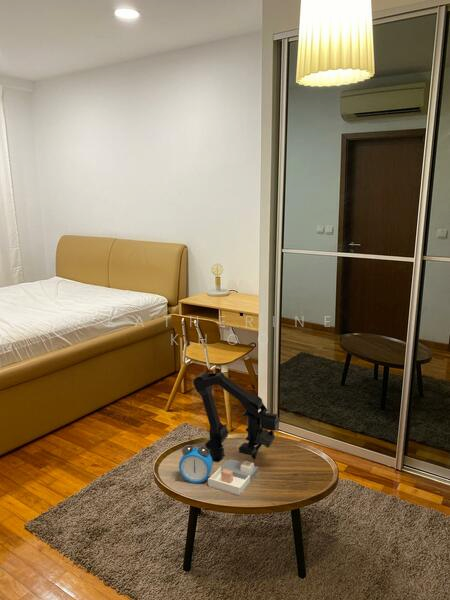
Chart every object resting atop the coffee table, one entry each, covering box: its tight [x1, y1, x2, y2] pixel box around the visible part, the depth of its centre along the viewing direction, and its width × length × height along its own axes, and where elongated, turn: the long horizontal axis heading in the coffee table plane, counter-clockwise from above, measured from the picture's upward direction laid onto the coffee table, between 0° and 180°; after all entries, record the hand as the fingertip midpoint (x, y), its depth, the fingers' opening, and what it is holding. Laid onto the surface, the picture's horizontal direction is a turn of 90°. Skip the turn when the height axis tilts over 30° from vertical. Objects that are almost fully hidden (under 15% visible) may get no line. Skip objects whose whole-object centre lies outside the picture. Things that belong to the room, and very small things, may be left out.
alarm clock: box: [178, 444, 214, 484], centre depth 189 cm, size 13×6×15 cm, turn 79°
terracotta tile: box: [221, 469, 233, 483], centre depth 188 cm, size 4×4×2 cm
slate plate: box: [220, 458, 259, 483], centre depth 194 cm, size 14×8×2 cm, turn 62°
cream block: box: [241, 460, 255, 474], centre depth 192 cm, size 4×4×2 cm
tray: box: [207, 466, 251, 496], centre depth 186 cm, size 14×10×4 cm
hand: (254, 459), depth 198 cm, fingers closed
